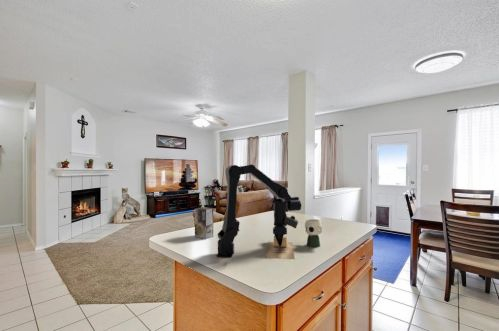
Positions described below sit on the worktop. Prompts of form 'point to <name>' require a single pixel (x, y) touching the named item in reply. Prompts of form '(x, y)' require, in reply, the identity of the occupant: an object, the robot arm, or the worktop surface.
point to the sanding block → (284, 242)
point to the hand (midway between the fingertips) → (280, 244)
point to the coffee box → (204, 222)
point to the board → (280, 251)
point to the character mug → (313, 232)
